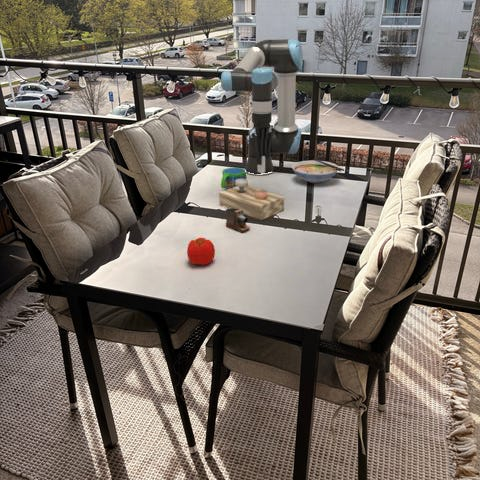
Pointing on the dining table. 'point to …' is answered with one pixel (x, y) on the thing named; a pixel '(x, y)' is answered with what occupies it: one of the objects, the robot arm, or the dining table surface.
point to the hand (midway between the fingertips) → (261, 171)
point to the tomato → (200, 251)
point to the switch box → (252, 202)
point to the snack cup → (232, 177)
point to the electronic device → (237, 220)
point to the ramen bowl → (315, 170)
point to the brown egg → (260, 194)
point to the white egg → (241, 184)
